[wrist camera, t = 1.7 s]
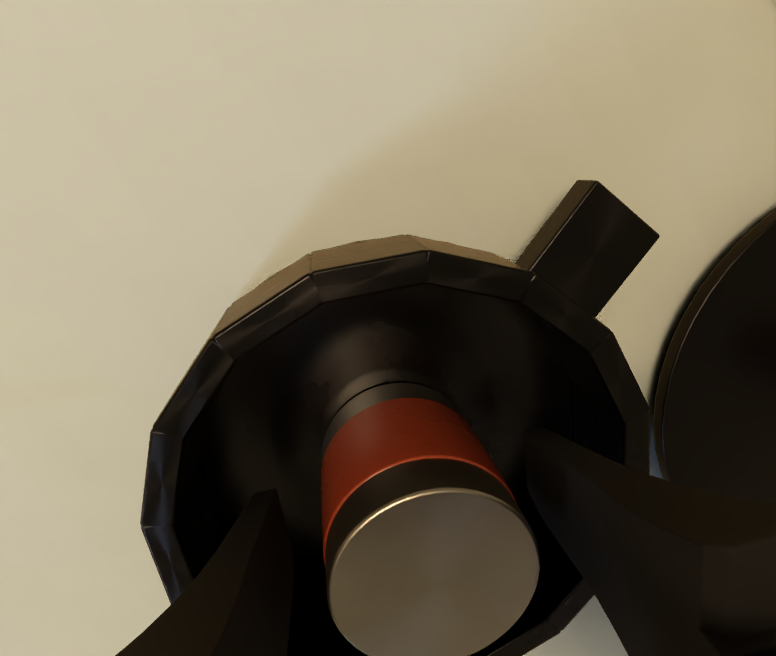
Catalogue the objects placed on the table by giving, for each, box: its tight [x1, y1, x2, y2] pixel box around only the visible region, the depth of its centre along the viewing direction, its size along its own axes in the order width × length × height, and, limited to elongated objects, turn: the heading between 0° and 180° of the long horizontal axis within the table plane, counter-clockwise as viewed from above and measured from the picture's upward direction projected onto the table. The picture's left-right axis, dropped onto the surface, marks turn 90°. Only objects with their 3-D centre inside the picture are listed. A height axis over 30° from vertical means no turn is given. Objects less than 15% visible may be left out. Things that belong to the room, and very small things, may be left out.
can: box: [321, 383, 540, 656], centre depth 14 cm, size 5×5×6 cm
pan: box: [140, 180, 659, 656], centre depth 15 cm, size 14×19×3 cm
